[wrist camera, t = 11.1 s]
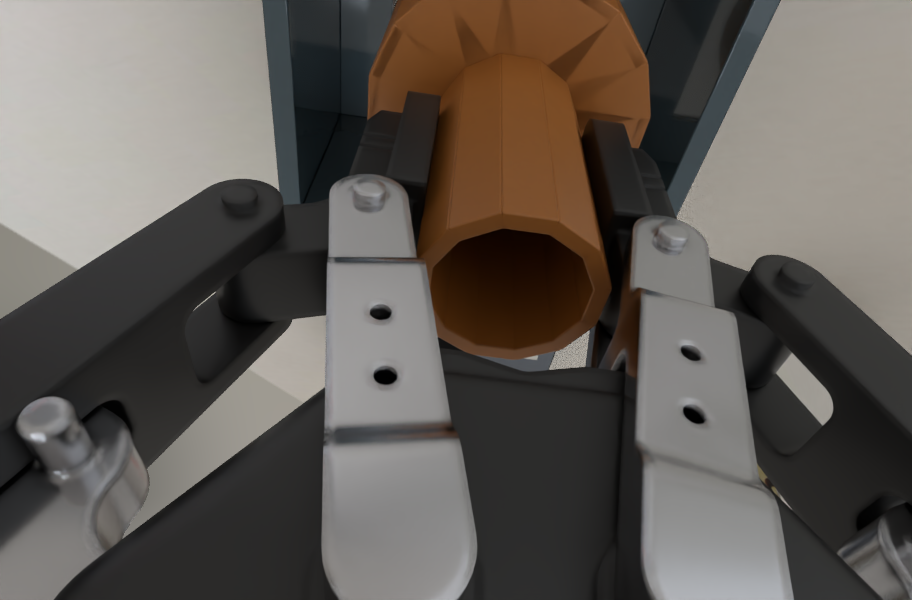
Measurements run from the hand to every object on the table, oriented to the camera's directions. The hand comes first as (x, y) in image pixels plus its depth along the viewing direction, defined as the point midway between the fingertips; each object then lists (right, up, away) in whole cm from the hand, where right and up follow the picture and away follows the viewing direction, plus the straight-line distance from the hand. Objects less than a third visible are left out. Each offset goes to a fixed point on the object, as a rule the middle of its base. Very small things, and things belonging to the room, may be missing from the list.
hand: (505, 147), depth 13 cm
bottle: (+1, +8, +9) cm, 12 cm away
